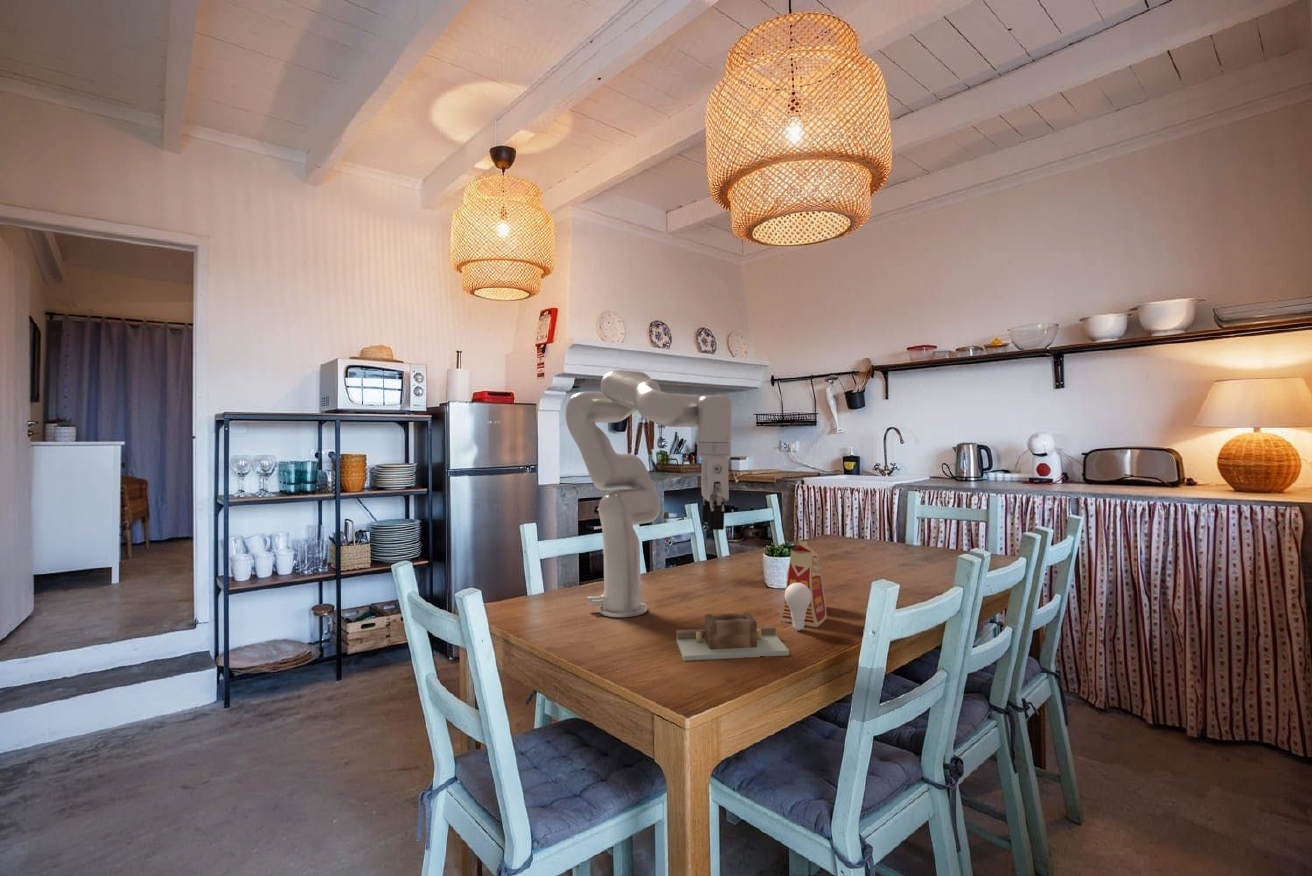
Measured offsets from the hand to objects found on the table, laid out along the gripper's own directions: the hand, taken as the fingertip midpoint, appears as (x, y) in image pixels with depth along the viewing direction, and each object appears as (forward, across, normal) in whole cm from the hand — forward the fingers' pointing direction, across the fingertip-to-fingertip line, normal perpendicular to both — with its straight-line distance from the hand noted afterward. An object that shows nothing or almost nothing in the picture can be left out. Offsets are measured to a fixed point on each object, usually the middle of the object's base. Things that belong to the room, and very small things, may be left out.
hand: (712, 525), depth 141 cm
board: (+25, -9, -3) cm, 27 cm away
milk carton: (+25, +9, -25) cm, 36 cm away
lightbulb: (+25, +1, -21) cm, 32 cm away
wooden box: (+24, -9, -3) cm, 26 cm away
